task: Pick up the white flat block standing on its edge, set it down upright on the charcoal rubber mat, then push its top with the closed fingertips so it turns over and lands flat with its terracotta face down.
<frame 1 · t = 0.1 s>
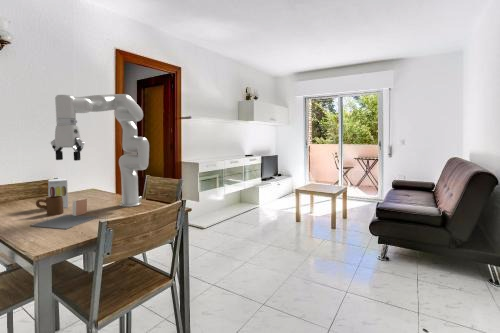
hand: (68, 160, 131), 31 cm above the table, tool pointing down, fingers open, 9 cm apart
supplement box: (58, 207, 170), on the table
mug: (50, 215, 153), on the table
mat: (66, 221, 140), on the table
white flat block: (79, 214, 154), on the table, touching mat
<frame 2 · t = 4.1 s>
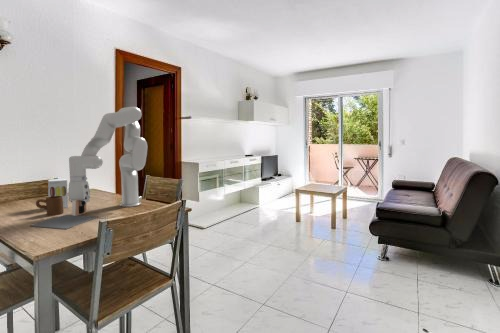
hand: (79, 212, 154), 1 cm above the table, tool pointing down, fingers closed on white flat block, 2 cm apart
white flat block: (79, 214, 154), on the table, touching gripper, mat
everything else where it was.
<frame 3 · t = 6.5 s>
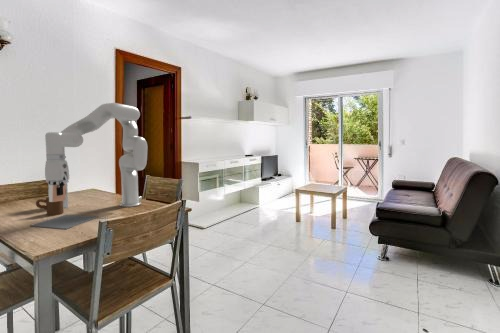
hand: (57, 194, 140), 13 cm above the table, tool pointing down, fingers closed on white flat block
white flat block: (57, 201, 140), point 10 cm above the table, tilted 5°, touching gripper
everything else where it was.
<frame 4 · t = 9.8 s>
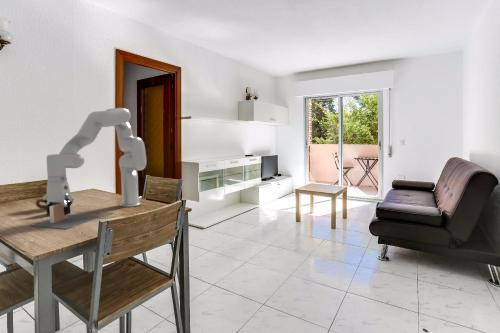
hand: (59, 213, 141), 4 cm above the table, tool pointing down, fingers open, 9 cm apart
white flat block: (58, 220, 141), resting on mat
everything else where it was.
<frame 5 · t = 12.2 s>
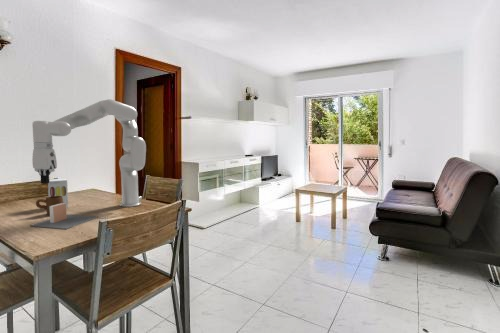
hand: (45, 183, 141), 19 cm above the table, tool pointing down, fingers closed
nothing on the table moved.
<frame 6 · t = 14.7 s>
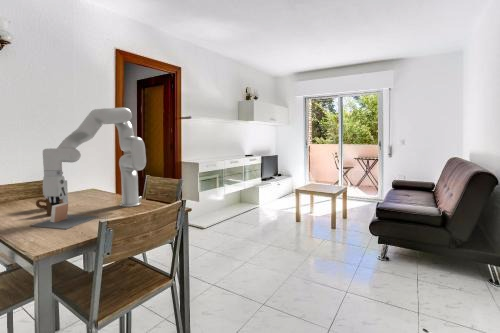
hand: (55, 210, 141), 6 cm above the table, tool pointing down, fingers closed
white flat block: (58, 220, 141), point 1 cm above the table, tilted 11°, touching gripper, mat
everything else where it was.
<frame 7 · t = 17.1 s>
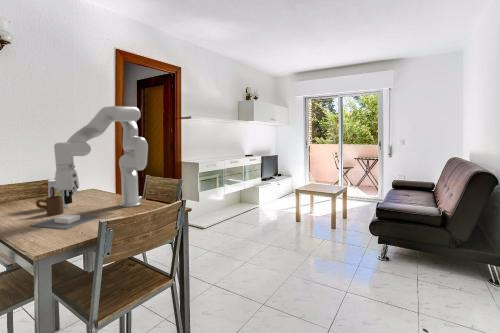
hand: (68, 203, 143), 8 cm above the table, tool pointing down, fingers closed
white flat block: (60, 218, 141), point 2 cm above the table, tilted 90°, touching mat
everything else where it was.
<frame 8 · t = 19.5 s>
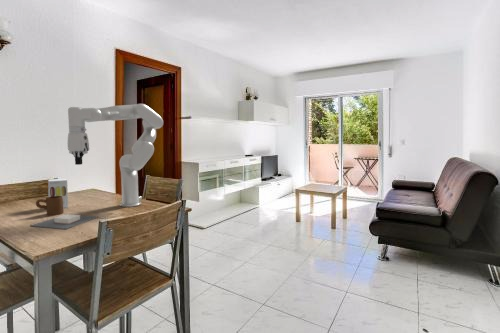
hand: (78, 164, 155), 27 cm above the table, tool pointing down, fingers closed
nothing on the table moved.
at the end: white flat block tilted 90°; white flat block inside the target area (2.9 cm from its centre), point 1.6 cm above the table; the gripper is holding nothing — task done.
